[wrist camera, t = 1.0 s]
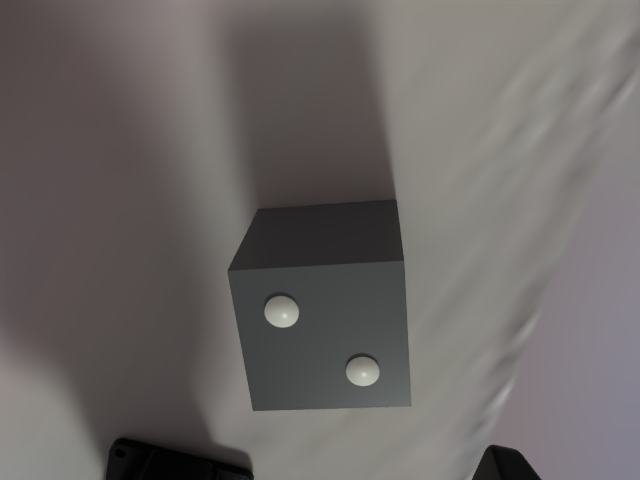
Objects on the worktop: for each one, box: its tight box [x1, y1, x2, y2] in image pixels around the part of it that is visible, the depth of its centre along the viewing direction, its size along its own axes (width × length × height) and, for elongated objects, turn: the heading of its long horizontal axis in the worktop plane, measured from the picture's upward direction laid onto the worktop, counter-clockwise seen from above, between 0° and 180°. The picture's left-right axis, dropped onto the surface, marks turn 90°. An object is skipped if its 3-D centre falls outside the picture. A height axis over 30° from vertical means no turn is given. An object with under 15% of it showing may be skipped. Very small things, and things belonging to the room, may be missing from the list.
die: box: [228, 200, 411, 411], centre depth 19 cm, size 5×5×5 cm
